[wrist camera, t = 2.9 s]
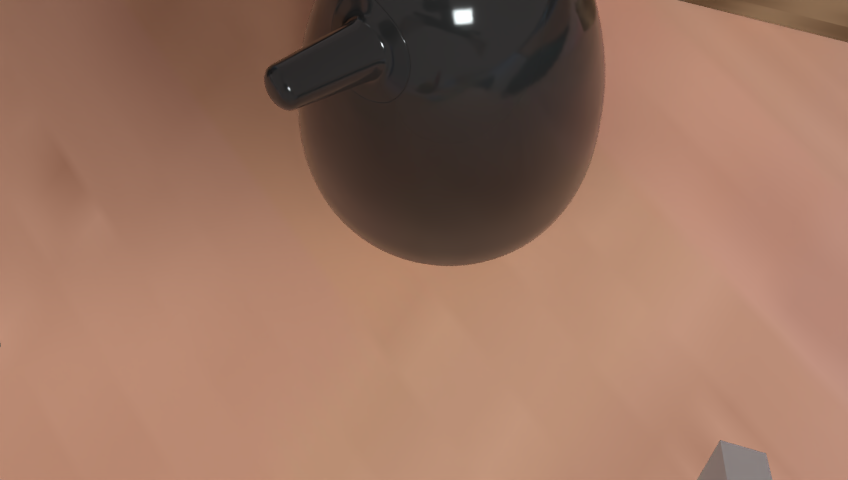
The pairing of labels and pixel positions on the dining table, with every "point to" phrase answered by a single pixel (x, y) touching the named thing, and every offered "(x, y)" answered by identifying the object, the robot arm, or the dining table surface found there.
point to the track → (791, 14)
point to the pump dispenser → (447, 118)
